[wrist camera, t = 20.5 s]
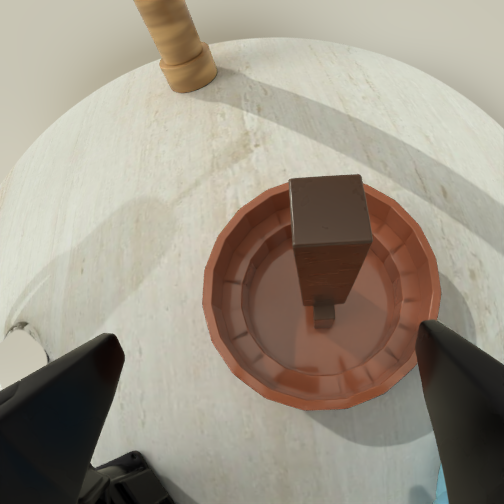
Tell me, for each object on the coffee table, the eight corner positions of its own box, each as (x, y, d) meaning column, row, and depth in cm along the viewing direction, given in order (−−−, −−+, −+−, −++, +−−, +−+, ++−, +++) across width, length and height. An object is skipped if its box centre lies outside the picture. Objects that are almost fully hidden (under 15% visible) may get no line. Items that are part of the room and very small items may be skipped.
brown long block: (339, 327, 20) (377, 267, 8) (305, 329, 20) (293, 273, 8) (336, 271, 21) (356, 154, 10) (303, 273, 22) (286, 158, 10)
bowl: (299, 437, 18) (294, 457, 14) (192, 284, 24) (164, 263, 19) (448, 312, 19) (479, 296, 14) (332, 182, 25) (334, 144, 20)
